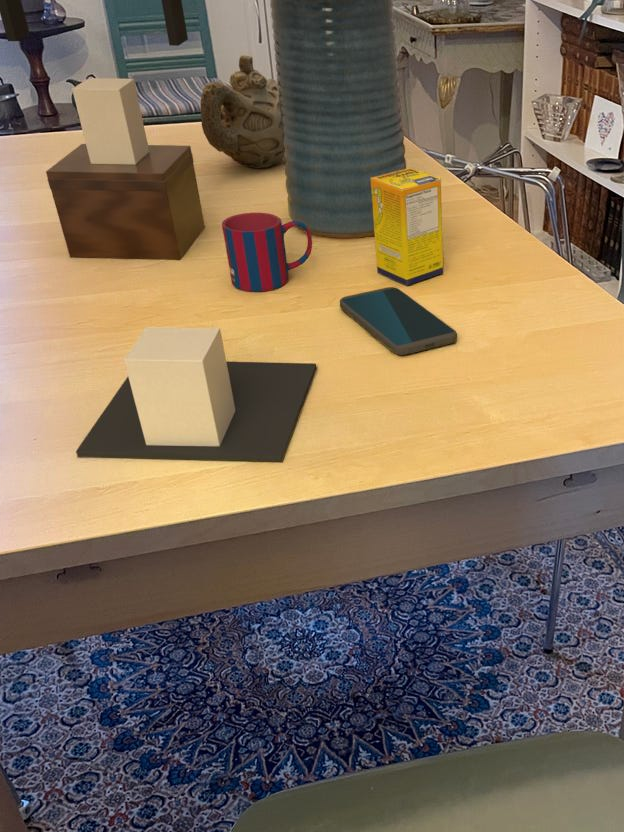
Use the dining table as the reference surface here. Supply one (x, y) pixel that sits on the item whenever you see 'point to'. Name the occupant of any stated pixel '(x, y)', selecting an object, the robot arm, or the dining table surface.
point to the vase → (337, 109)
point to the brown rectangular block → (128, 204)
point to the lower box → (111, 120)
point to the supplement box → (407, 225)
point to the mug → (259, 251)
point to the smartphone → (398, 320)
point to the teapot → (244, 117)
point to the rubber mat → (247, 432)
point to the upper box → (181, 386)
